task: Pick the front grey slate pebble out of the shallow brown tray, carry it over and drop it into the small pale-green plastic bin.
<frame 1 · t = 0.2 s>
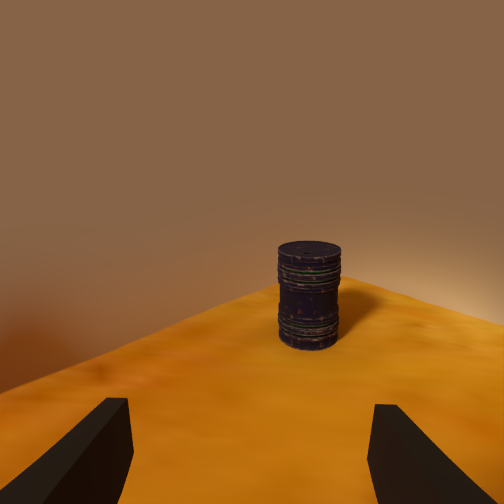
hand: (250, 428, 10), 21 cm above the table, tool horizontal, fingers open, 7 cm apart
storage jar: (307, 335, 57), on the table
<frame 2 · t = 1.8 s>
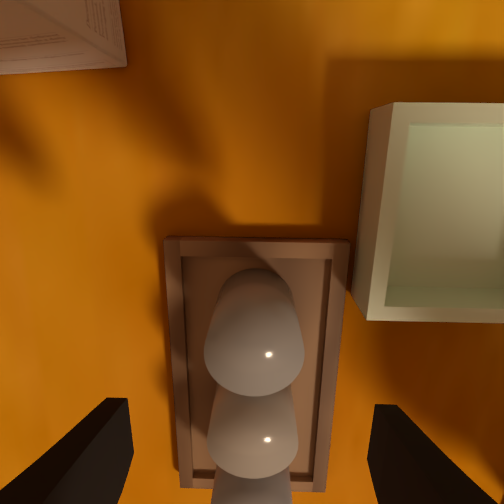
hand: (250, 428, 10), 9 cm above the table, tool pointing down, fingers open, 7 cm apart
bin: (453, 210, 16), on the table
shallow brown tray: (254, 372, 20), on the table
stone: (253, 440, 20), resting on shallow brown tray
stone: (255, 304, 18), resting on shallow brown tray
stone mid: (254, 376, 19), resting on shallow brown tray
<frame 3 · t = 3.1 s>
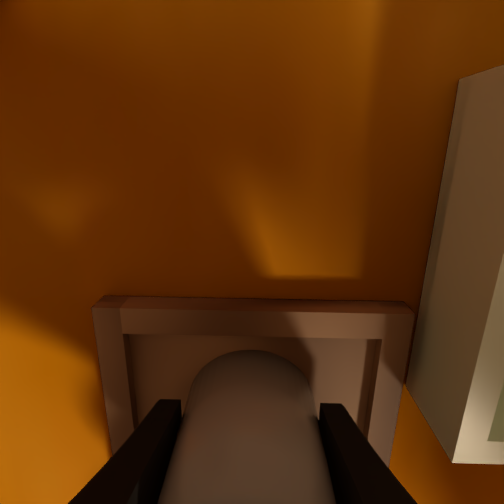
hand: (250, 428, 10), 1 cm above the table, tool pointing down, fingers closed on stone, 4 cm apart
shallow brown tray: (249, 495, 13), on the table
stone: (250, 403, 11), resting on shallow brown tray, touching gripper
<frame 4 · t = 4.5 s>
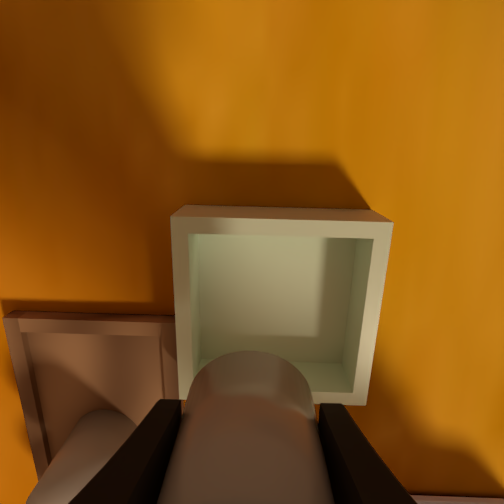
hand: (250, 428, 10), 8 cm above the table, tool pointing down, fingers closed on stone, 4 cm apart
bin: (273, 292, 18), on the table
shallow brown tray: (111, 431, 21), on the table
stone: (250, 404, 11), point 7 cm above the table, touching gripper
stone mid: (108, 436, 20), resting on shallow brown tray
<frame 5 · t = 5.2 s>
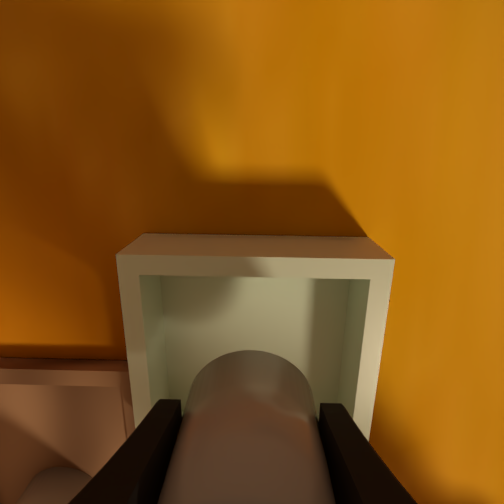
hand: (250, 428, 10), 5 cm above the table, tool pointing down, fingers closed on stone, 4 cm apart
bin: (253, 334, 15), on the table
shallow brown tray: (71, 489, 18), on the table
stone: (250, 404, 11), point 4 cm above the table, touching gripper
stone mid: (67, 496, 18), resting on shallow brown tray
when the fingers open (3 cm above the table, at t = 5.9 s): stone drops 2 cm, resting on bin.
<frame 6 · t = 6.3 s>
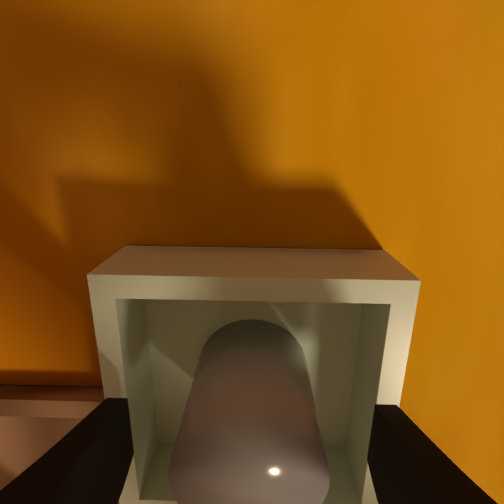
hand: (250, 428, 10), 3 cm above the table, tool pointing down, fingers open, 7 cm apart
bin: (252, 358, 13), on the table
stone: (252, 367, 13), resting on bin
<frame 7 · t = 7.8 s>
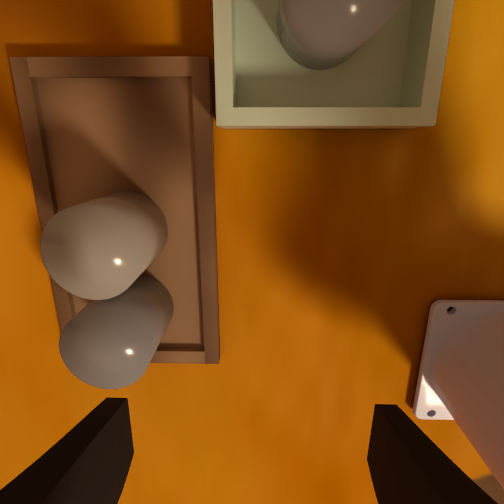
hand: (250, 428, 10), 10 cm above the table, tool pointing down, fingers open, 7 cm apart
bin: (320, 22, 15), on the table
shallow brown tray: (133, 226, 18), on the table
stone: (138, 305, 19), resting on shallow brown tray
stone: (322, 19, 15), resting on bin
stone mid: (130, 228, 18), resting on shallow brown tray
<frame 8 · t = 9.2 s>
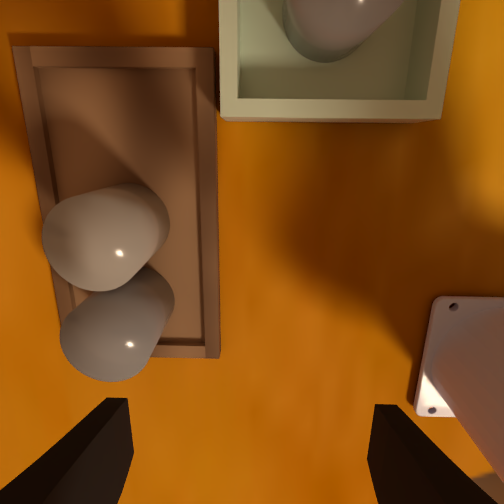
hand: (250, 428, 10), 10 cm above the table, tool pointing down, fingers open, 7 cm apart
bin: (325, 15, 15), on the table
shallow brown tray: (134, 219, 18), on the table
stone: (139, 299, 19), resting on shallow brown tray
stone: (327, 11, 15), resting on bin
stone mid: (132, 221, 18), resting on shallow brown tray
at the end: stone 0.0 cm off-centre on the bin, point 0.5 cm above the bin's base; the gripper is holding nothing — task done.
